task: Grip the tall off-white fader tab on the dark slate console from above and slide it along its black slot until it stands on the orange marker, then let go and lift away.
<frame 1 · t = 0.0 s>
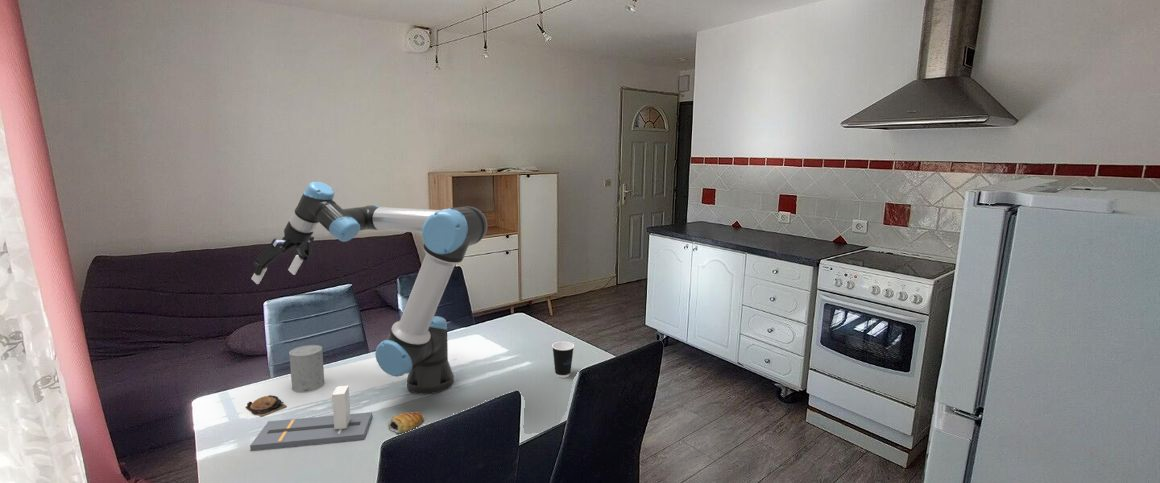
hand: (274, 276, 159), 36 cm above the table, tool tilted 35°, fingers open, 13 cm apart
fader tab: (341, 407, 134), point 7 cm above the table, slide at 0.0 cm
dixie cup: (562, 375, 173), on the table
console: (315, 432, 134), on the table
grey concrete cylinder: (308, 386, 161), on the table
pastry: (405, 427, 138), on the table
wood slice: (266, 409, 147), on the table
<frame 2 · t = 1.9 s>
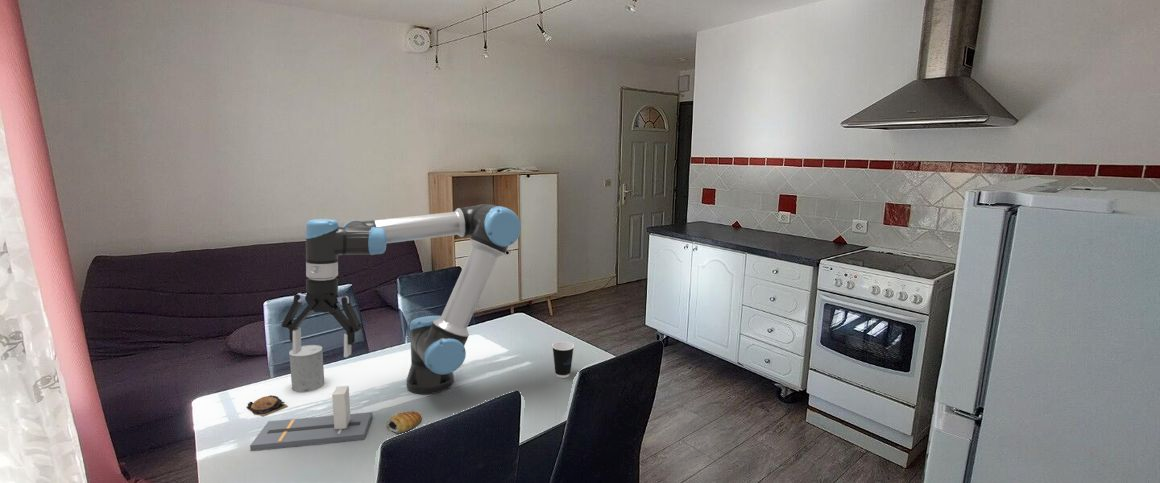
hand: (322, 354, 133), 22 cm above the table, tool pointing down, fingers open, 13 cm apart
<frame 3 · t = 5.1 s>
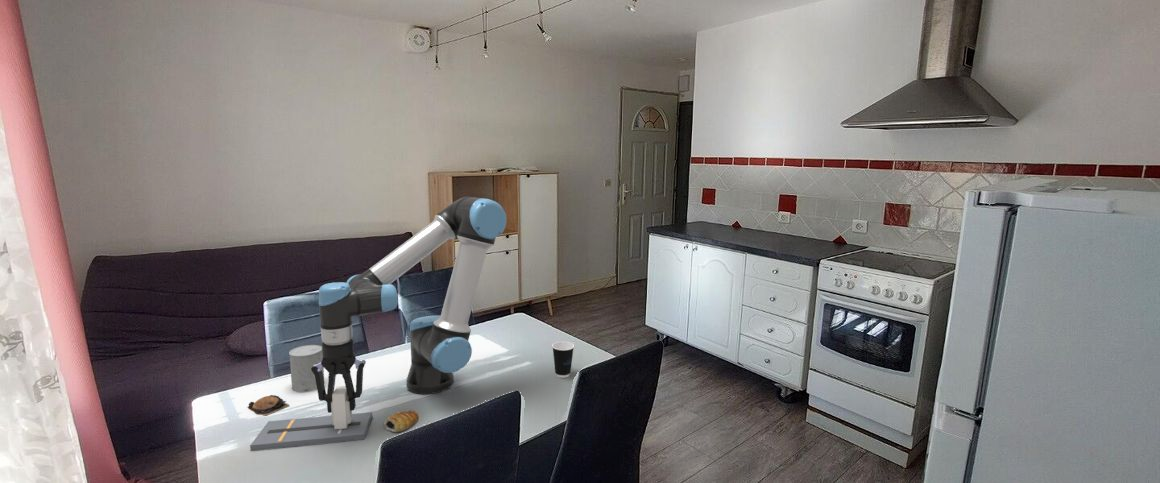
hand: (342, 421, 135), 3 cm above the table, tool pointing down, fingers closed on fader tab, 3 cm apart
fader tab: (341, 407, 134), point 7 cm above the table, slide at 0.0 cm, touching gripper
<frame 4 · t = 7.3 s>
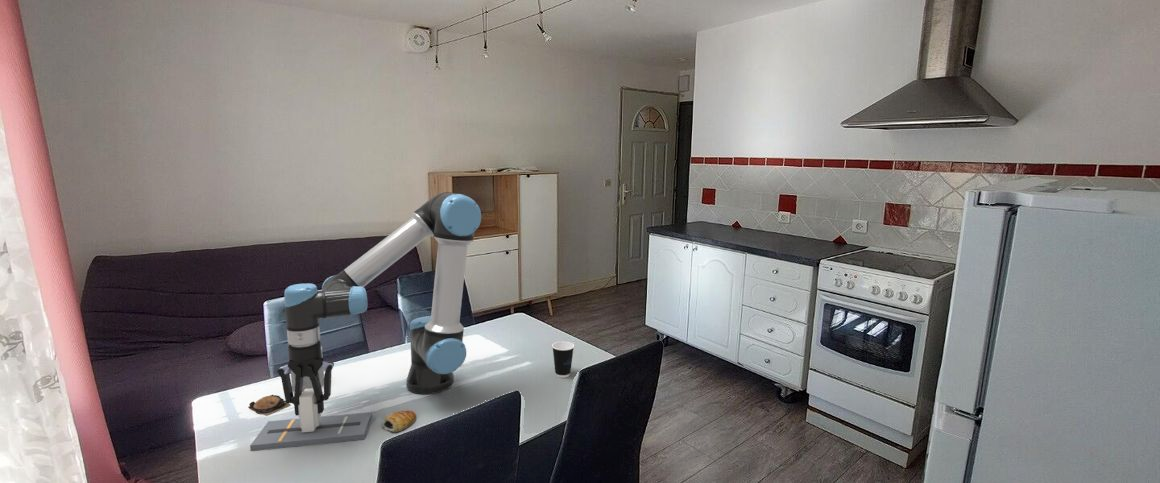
hand: (310, 424, 133), 3 cm above the table, tool pointing down, fingers closed on fader tab, 3 cm apart
fader tab: (309, 409, 133), point 7 cm above the table, slide at 8.0 cm, touching gripper
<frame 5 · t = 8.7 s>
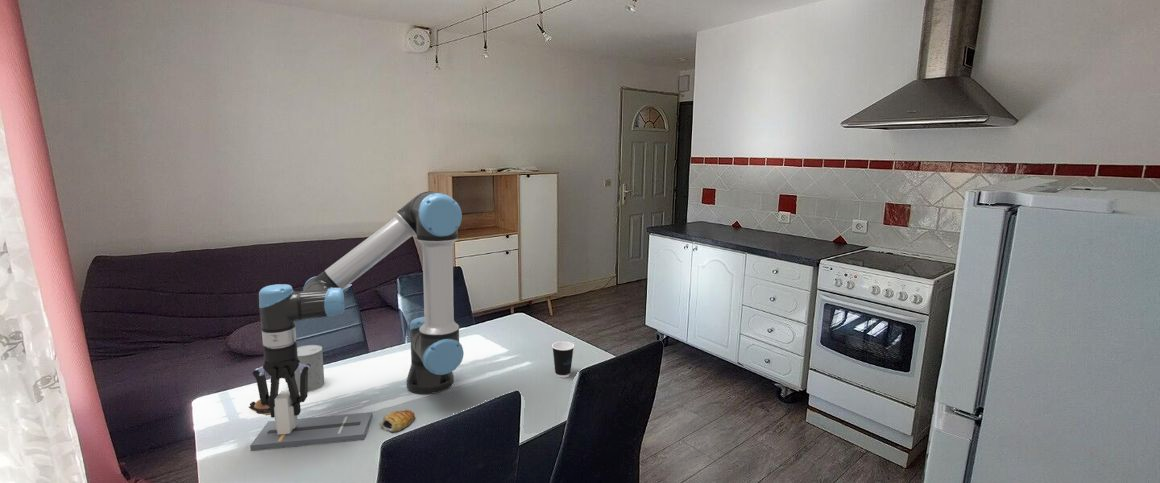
hand: (286, 426, 132), 3 cm above the table, tool pointing down, fingers closed on fader tab, 3 cm apart
fader tab: (285, 411, 131), point 7 cm above the table, slide at 13.9 cm, touching gripper
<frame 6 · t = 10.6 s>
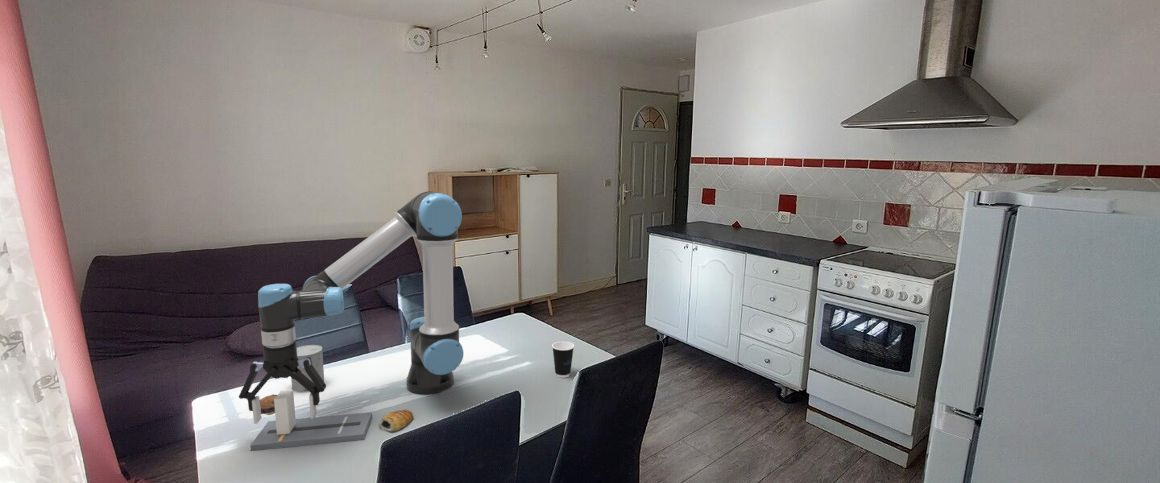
hand: (286, 418, 132), 5 cm above the table, tool pointing down, fingers open, 13 cm apart
fader tab: (285, 412, 131), point 7 cm above the table, slide at 14.0 cm
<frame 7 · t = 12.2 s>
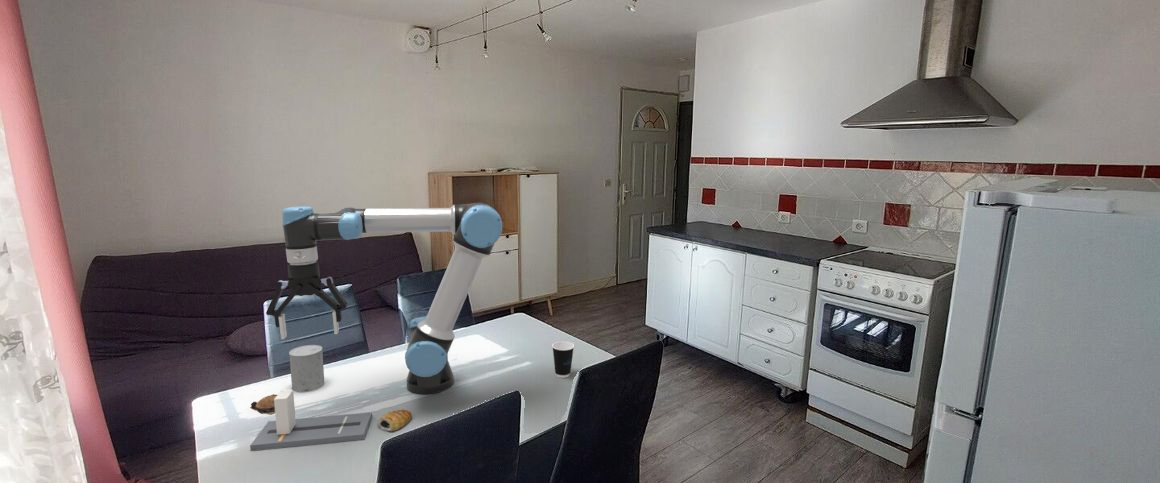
hand: (310, 335, 140), 24 cm above the table, tool pointing down, fingers open, 13 cm apart
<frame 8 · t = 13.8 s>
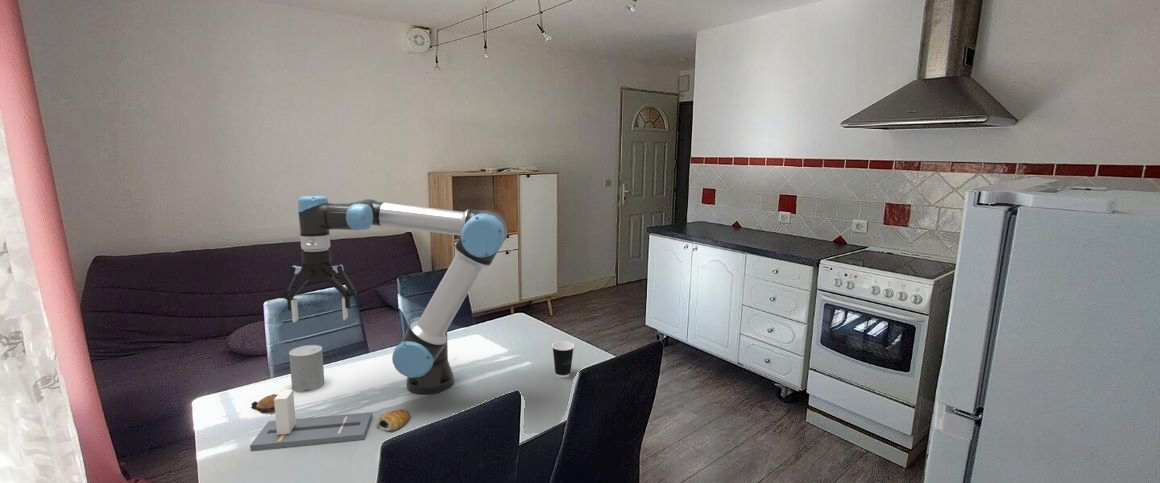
hand: (320, 319, 146), 27 cm above the table, tool pointing down, fingers open, 13 cm apart
at the end: fader tab slide at 14.0 cm; the gripper is holding nothing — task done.
